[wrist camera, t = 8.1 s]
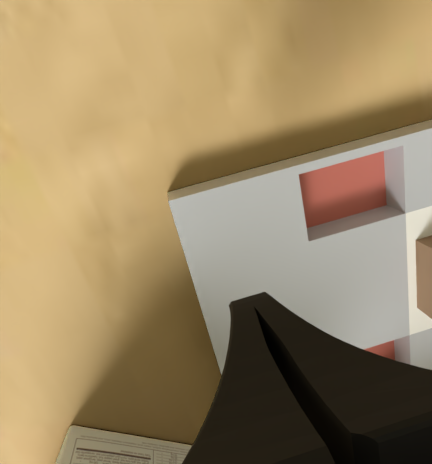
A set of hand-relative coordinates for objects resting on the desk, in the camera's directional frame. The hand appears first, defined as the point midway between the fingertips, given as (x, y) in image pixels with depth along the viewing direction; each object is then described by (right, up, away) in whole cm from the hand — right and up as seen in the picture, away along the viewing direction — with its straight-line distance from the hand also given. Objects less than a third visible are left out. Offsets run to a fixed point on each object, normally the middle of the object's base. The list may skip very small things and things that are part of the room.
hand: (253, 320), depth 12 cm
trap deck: (+8, 0, +11) cm, 14 cm away
